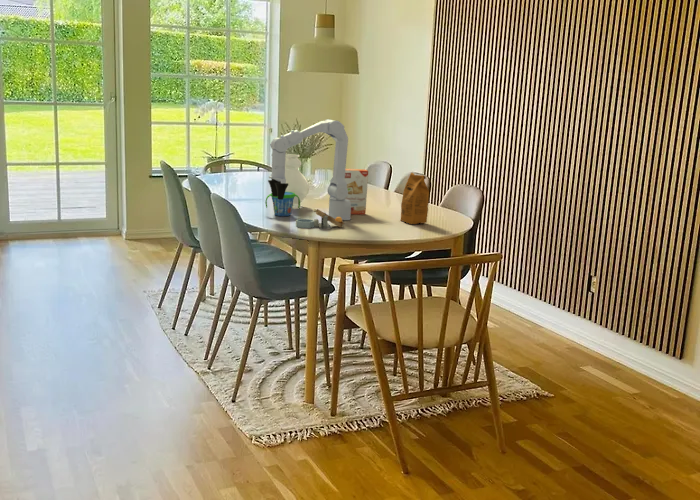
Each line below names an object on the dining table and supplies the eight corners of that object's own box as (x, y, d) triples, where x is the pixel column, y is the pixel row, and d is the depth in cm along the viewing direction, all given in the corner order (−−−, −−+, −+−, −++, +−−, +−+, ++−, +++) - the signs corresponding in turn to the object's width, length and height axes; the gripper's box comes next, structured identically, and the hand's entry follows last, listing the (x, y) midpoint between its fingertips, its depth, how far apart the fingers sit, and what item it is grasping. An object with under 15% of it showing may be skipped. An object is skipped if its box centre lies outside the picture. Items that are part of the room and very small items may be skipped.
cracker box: (337, 214, 346) (339, 169, 342) (334, 212, 352) (336, 168, 347) (366, 214, 350) (368, 170, 345) (362, 212, 356) (364, 168, 351)
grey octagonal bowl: (312, 224, 320) (312, 219, 320) (314, 228, 313) (314, 222, 312) (295, 224, 319) (295, 218, 318) (296, 227, 312) (297, 222, 311)
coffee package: (416, 219, 344) (419, 171, 340) (429, 224, 333) (433, 175, 328) (397, 220, 340) (400, 171, 336) (409, 225, 329) (413, 175, 324)
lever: (337, 223, 327) (340, 218, 327) (341, 228, 316) (344, 223, 315) (312, 209, 324) (315, 204, 324) (315, 214, 313) (318, 208, 312)
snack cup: (265, 216, 332) (265, 194, 330) (265, 212, 343) (265, 190, 340) (300, 217, 334) (300, 195, 332) (299, 213, 344) (300, 191, 342)
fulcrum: (328, 224, 322) (329, 212, 321) (331, 228, 313) (331, 216, 312) (313, 224, 321) (313, 212, 320) (315, 228, 312) (316, 216, 311)
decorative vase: (303, 211, 351) (304, 157, 346) (266, 208, 355) (268, 155, 349) (312, 205, 368) (314, 154, 363) (277, 202, 372) (279, 152, 366)
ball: (340, 222, 320) (340, 216, 319) (342, 224, 317) (343, 217, 317) (333, 222, 319) (334, 216, 318) (336, 224, 316) (337, 217, 315)
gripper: (264, 164, 324) (263, 195, 327) (274, 168, 311) (274, 200, 314) (279, 164, 326) (279, 195, 330) (291, 168, 314) (290, 200, 317)
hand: (277, 197), depth 322 cm, fingers open, 7 cm apart
